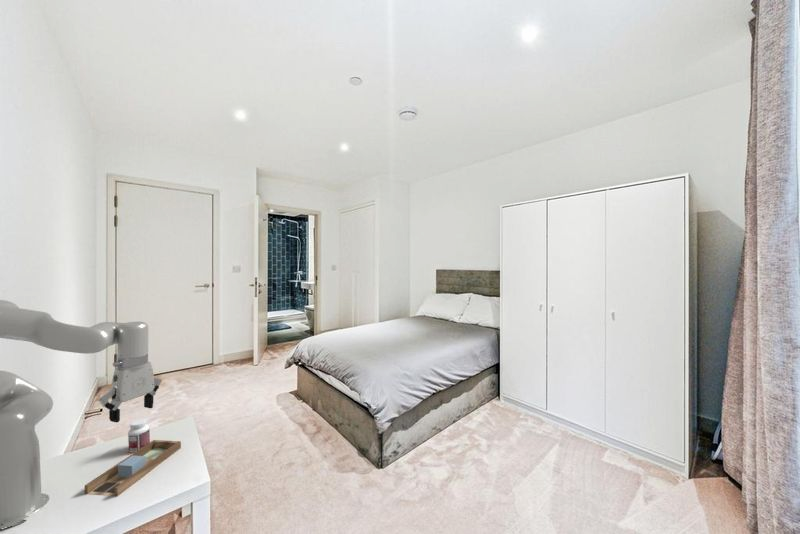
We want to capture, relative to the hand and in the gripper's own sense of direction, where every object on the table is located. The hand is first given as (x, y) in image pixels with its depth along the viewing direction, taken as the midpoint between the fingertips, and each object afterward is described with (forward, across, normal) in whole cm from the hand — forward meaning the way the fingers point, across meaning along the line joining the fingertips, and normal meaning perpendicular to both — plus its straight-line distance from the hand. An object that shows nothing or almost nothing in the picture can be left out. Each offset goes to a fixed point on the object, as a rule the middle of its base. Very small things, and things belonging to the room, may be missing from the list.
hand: (132, 414), depth 101 cm
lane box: (+22, +5, +4) cm, 23 cm away
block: (+22, +3, +4) cm, 22 cm away
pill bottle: (+23, +13, +16) cm, 31 cm away
